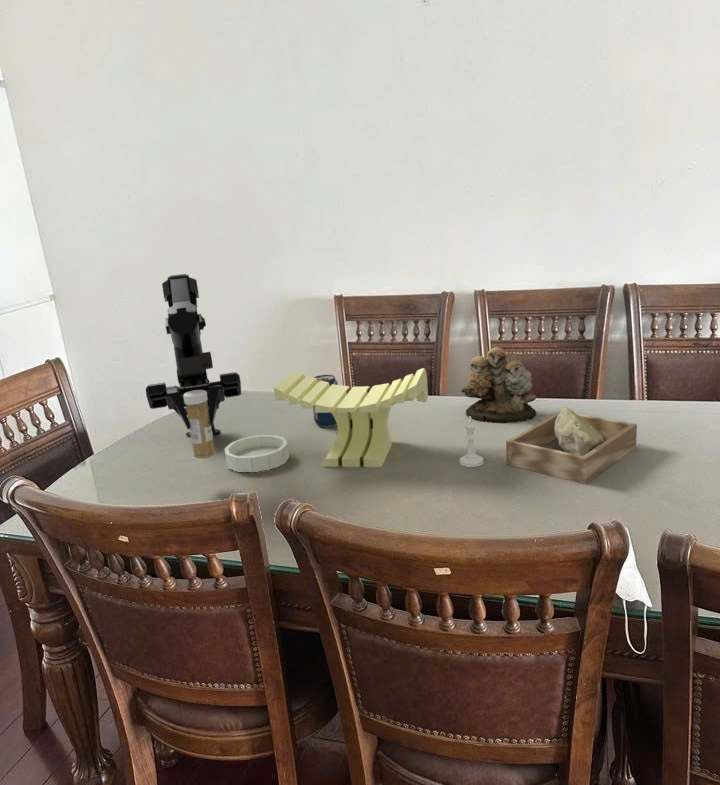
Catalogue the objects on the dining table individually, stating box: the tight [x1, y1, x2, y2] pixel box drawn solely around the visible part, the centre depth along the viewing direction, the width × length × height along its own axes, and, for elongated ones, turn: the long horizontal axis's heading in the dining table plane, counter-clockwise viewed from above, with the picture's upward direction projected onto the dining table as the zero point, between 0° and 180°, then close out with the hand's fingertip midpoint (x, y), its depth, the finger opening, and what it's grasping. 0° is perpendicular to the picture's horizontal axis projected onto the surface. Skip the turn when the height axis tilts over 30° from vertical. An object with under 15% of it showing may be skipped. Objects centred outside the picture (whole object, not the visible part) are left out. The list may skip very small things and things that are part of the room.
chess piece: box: [459, 416, 485, 468], centre depth 137 cm, size 5×5×10 cm
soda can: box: [312, 374, 339, 428], centre depth 169 cm, size 7×7×12 cm
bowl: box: [224, 434, 290, 473], centre depth 149 cm, size 14×14×4 cm
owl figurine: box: [460, 346, 537, 424], centre depth 163 cm, size 18×12×17 cm, turn 75°
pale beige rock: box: [555, 406, 604, 456], centre depth 137 cm, size 15×7×15 cm
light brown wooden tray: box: [505, 410, 638, 485], centre depth 137 cm, size 17×22×5 cm
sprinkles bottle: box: [184, 390, 217, 459], centre depth 135 cm, size 5×5×14 cm
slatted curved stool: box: [273, 367, 429, 468], centre depth 147 cm, size 30×16×18 cm, turn 78°
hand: (200, 426), depth 134 cm, fingers closed on sprinkles bottle, 4 cm apart
